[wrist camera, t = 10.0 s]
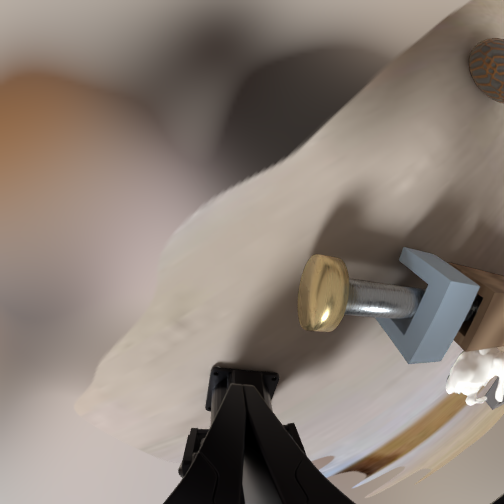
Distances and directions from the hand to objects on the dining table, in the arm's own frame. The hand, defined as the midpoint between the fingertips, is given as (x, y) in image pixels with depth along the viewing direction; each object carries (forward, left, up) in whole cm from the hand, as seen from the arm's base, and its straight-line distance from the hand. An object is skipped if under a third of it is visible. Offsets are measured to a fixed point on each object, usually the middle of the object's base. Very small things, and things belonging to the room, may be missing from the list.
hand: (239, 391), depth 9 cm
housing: (0, -29, -13) cm, 32 cm away
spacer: (0, -16, -12) cm, 20 cm away
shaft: (0, -15, -12) cm, 19 cm away
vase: (+24, -21, -13) cm, 35 cm away
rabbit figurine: (-10, -36, -13) cm, 39 cm away
